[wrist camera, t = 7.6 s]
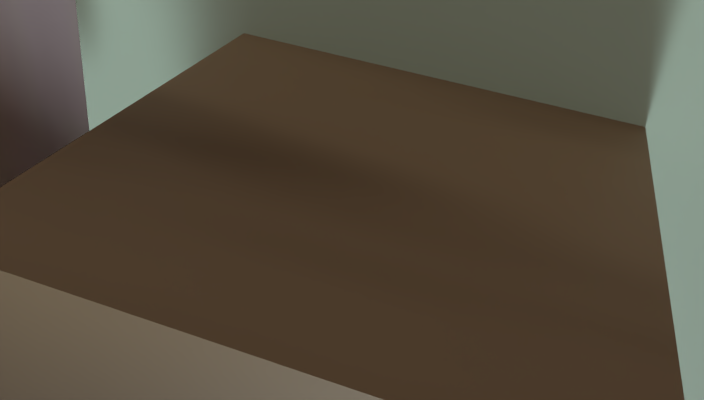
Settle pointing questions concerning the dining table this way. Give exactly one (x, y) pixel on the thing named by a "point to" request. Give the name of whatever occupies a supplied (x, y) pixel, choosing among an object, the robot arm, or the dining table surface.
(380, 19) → the base slab
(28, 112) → the dining table surface
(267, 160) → the walnut cube
